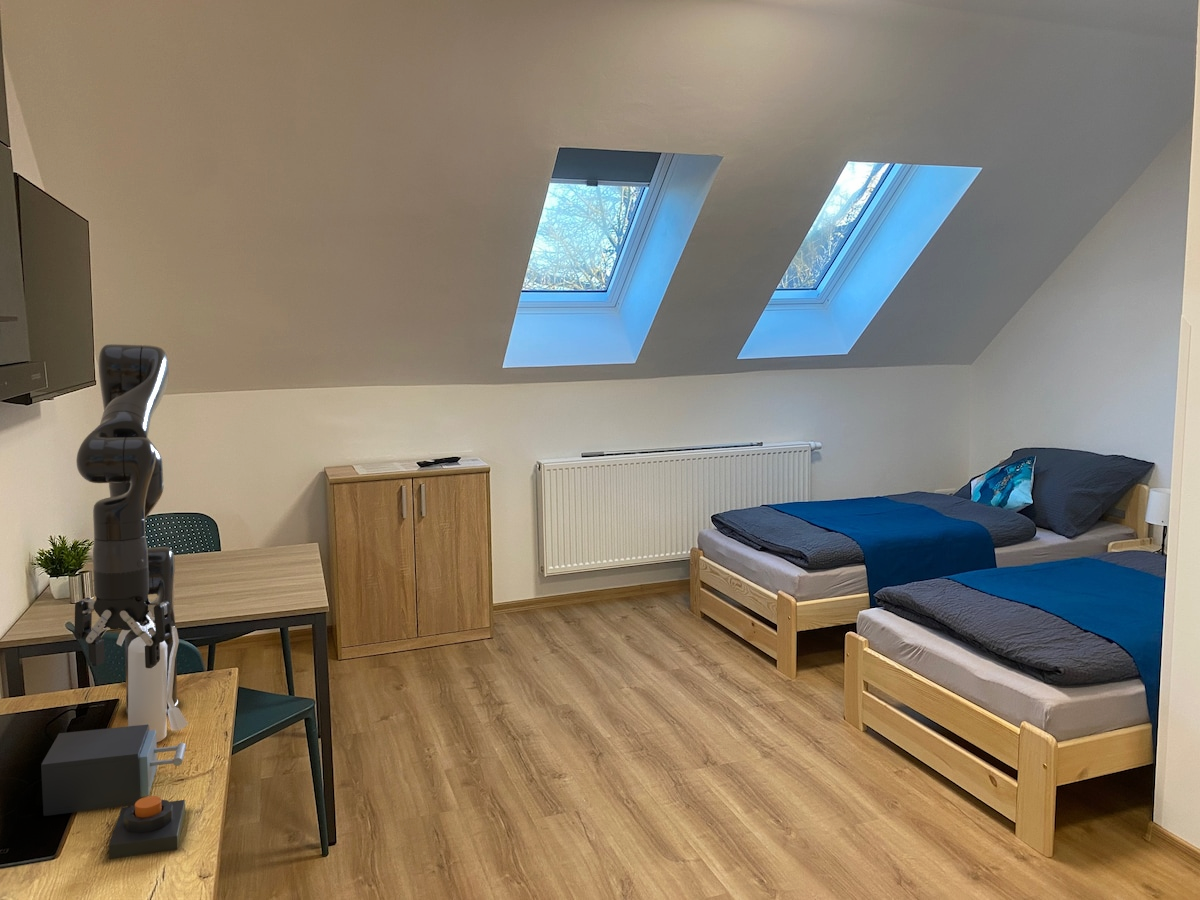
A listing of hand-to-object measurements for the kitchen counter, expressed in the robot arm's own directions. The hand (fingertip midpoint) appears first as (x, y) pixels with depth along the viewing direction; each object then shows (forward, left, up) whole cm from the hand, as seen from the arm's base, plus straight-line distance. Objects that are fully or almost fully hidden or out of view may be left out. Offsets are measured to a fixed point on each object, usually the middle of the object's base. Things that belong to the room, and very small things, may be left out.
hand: (124, 665), depth 140 cm
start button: (+9, +4, -20) cm, 23 cm away
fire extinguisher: (-27, 0, -24) cm, 36 cm away
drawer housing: (-7, -5, -24) cm, 25 cm away
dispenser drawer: (-7, -1, -23) cm, 24 cm away
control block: (+9, +4, -24) cm, 26 cm away
